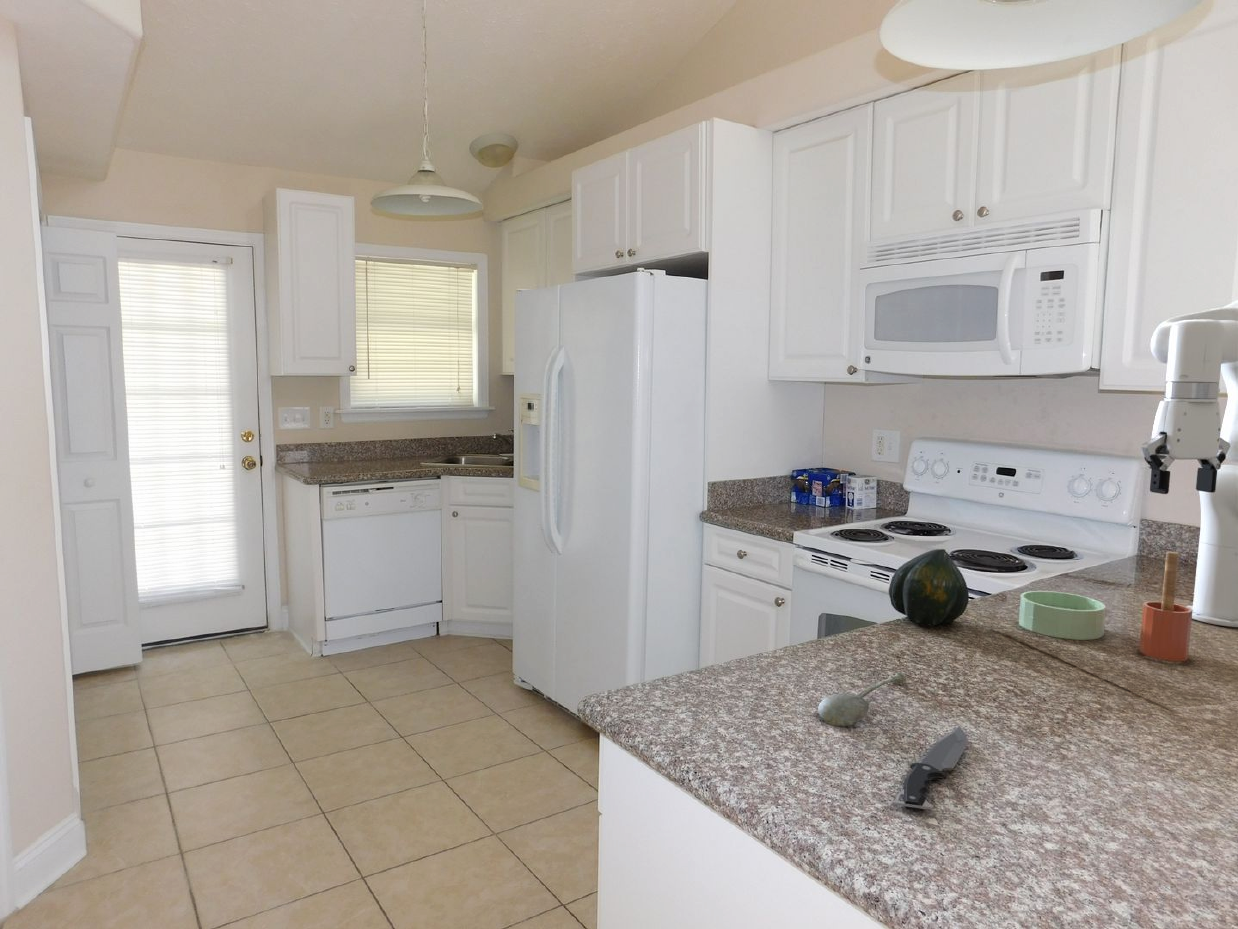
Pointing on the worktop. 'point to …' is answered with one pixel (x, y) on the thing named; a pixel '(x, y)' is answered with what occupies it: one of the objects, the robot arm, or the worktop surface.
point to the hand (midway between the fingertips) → (1182, 492)
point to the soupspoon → (850, 704)
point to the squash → (929, 589)
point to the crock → (1165, 632)
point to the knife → (931, 769)
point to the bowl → (1062, 615)
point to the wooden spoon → (1169, 581)
